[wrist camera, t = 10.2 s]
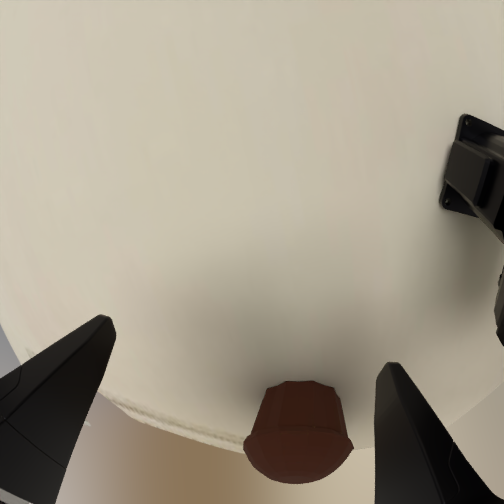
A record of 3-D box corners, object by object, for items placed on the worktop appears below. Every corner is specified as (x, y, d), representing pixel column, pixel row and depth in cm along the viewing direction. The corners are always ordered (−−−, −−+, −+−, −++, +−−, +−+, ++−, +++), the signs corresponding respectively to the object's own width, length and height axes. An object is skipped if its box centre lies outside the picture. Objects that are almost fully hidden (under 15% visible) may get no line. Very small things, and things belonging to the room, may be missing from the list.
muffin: (310, 427, 35) (305, 494, 26) (236, 404, 33) (220, 477, 25) (372, 389, 28) (378, 472, 20) (287, 359, 27) (277, 456, 19)
